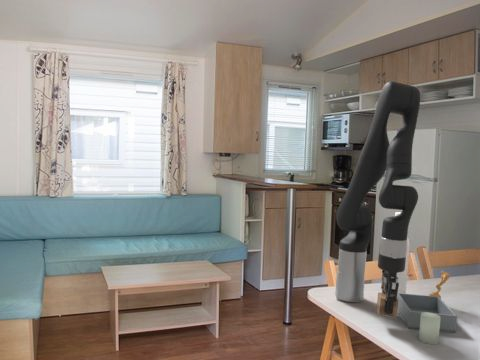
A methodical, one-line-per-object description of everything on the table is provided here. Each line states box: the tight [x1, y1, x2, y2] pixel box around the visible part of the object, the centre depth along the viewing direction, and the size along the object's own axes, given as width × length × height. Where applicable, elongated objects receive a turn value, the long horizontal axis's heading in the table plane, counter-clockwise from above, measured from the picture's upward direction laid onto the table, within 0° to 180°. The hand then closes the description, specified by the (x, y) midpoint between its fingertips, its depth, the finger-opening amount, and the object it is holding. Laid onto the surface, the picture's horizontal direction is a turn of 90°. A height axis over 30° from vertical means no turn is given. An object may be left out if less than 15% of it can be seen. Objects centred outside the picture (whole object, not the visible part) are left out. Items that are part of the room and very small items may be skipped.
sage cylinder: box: [418, 312, 441, 345], centre depth 122 cm, size 5×5×7 cm
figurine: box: [428, 270, 451, 300], centre depth 152 cm, size 8×6×12 cm
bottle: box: [394, 211, 411, 294], centre depth 160 cm, size 8×8×30 cm
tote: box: [397, 293, 458, 334], centre depth 138 cm, size 13×17×5 cm
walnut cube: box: [376, 291, 399, 318], centre depth 130 cm, size 5×5×5 cm
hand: (386, 309), depth 131 cm, fingers closed on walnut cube, 5 cm apart
